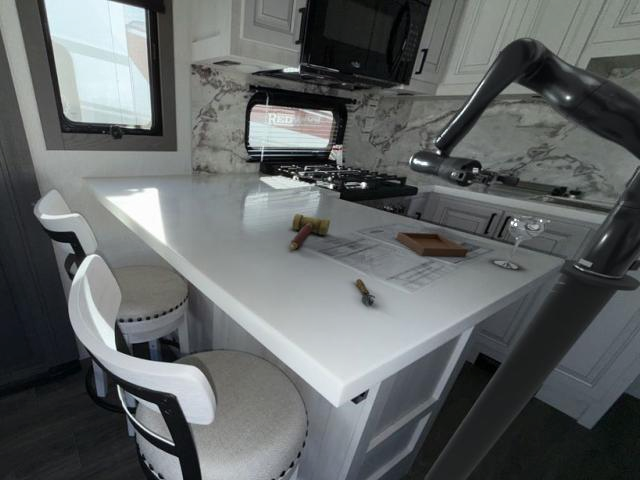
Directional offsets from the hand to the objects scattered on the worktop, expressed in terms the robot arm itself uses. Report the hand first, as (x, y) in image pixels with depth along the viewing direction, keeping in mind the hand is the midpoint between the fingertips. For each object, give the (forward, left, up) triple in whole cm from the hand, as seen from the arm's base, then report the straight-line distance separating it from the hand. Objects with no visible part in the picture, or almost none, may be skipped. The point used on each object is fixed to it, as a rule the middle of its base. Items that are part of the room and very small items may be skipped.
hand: (502, 181), depth 79 cm
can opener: (+46, +28, -18) cm, 57 cm away
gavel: (+50, -2, -18) cm, 53 cm away
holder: (+14, +1, -18) cm, 23 cm away
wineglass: (0, +12, -18) cm, 22 cm away
